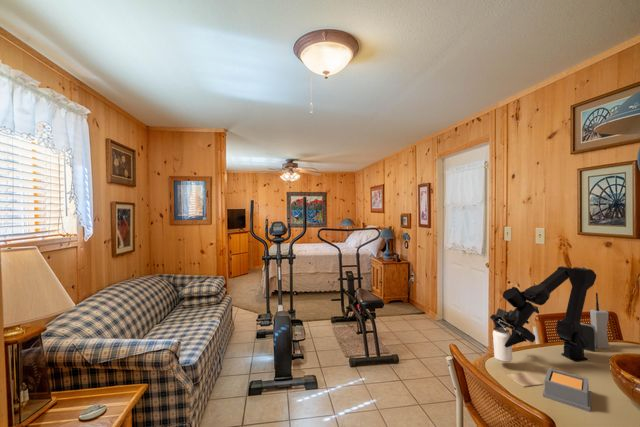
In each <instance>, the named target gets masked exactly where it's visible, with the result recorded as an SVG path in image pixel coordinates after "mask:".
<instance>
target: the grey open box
mask: <svg viewBox="0 0 640 427" xmlns="http://www.w3.org/2000/svg"><path fill="white" fill-rule="evenodd" d="M553 372H554V373H558V374H562V375H565V376H569V377H572V378H576V379H580V380H583V390H580V389H577V388H573V387H570V386H566V385H563V384H559V383H556V382H553V381H551V377H552V374H553ZM589 389H590V388H589V378H588V377H583V376H579V375H576V374H572V373H569V372H565V371H561V370H557V369H554V368H550V367H549V368H548V369H547V372H546V374H545V379H544V389H543V392H542V397H544V398H547V399H550V400H552V401H554V402H555V401H556V402H558V403H562V404H565V405H568V406H571V407H574V408H577V409H580V410H583V411H586V412H591V409H592V407H591V406H592V391H590V390H589Z"/></svg>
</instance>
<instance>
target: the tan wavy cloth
mask: <svg viewBox="0 0 640 427" xmlns="http://www.w3.org/2000/svg"><path fill="white" fill-rule="evenodd" d="M506 376H507V377H509V378H510V379H511V380H512V381H514V382H516V383H517V384H518V385H520V386H521V387H523V388H526V387H537V386H543V385H544V383H542V382H541V381H540V380H538V379H536V378H535V377H533V376H532V375H531V374H528V373H527V372H526V371H522V372H516V373H507V374H506Z"/></svg>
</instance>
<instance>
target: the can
mask: <svg viewBox="0 0 640 427" xmlns="http://www.w3.org/2000/svg"><path fill="white" fill-rule="evenodd" d="M511 334H512V333H511V332H510V329H509V328H507V327H506V328H500V327H497V328H495V327H494V328H493V331H492V342H493V343H492V344H493V355H494V358H495V359H496V360H497V361H500V362H503V363H510V362H512V361H513V345H512V346H510V347H505V344H506V342H507V340H508V339H509V337H510V336H511Z"/></svg>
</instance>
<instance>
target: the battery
mask: <svg viewBox="0 0 640 427" xmlns="http://www.w3.org/2000/svg"><path fill="white" fill-rule="evenodd" d="M580 324H581V326H582V329H583V336H584V337H585V338H586V339H587V340H588V341H589V346H588V347H586V348H584V350H586V351H590V352H596V351H597V350H596V348H597V347H595V337H596V332H595V327H594V326H593V325H591V323H584V322H580Z"/></svg>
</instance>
